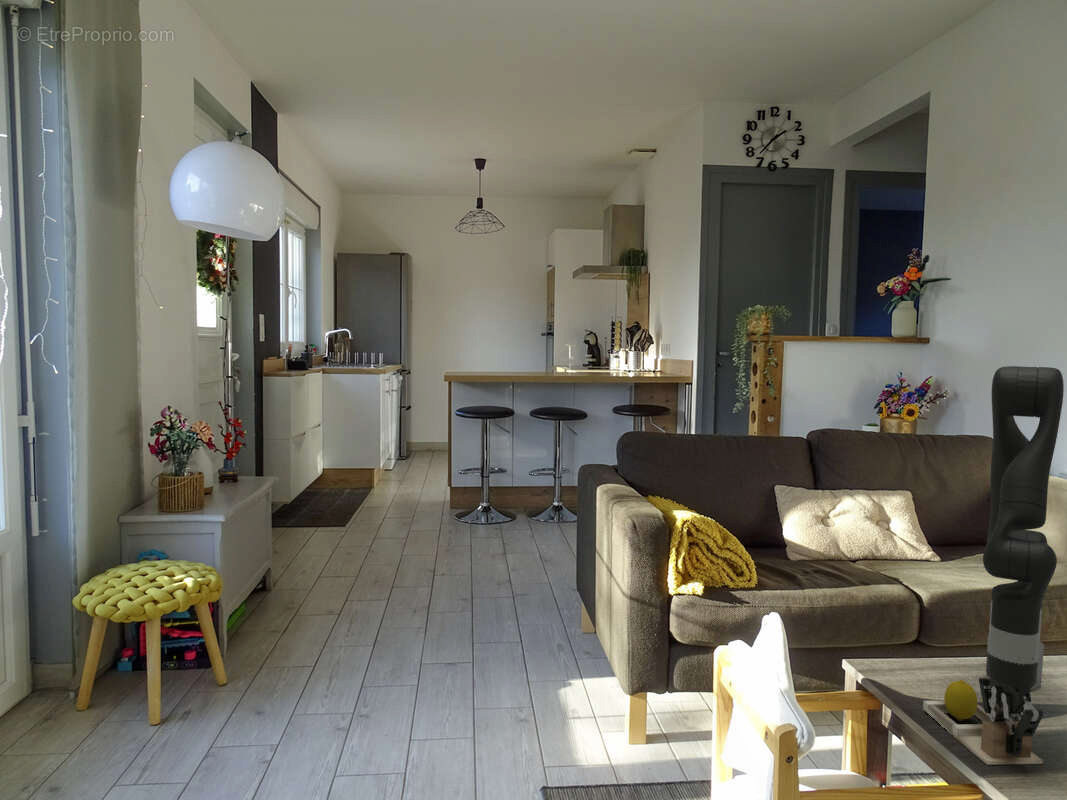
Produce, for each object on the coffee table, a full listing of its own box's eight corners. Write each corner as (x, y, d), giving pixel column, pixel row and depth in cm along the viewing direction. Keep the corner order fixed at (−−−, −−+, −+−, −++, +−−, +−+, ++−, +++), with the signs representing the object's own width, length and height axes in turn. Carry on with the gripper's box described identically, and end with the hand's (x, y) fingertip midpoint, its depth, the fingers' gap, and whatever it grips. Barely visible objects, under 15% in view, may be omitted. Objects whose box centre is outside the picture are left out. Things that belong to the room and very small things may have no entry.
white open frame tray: (971, 710, 153) (973, 682, 152) (1042, 763, 133) (1045, 732, 133) (922, 710, 152) (924, 683, 151) (987, 764, 132) (989, 733, 132)
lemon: (980, 729, 145) (983, 687, 144) (948, 725, 146) (950, 684, 146) (970, 715, 150) (972, 675, 150) (939, 712, 152) (941, 672, 151)
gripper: (1063, 670, 127) (1055, 770, 128) (1006, 636, 141) (999, 727, 142) (1019, 670, 127) (1012, 771, 128) (966, 637, 141) (960, 728, 142)
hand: (1005, 747), depth 135 cm, fingers closed on white open frame tray, 3 cm apart
